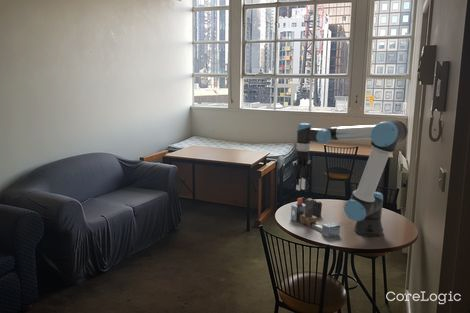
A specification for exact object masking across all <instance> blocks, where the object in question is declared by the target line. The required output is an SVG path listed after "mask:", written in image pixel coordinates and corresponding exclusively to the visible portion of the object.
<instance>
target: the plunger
mask: <svg viewBox="0 0 470 313" xmlns="http://www.w3.org/2000/svg"><path fill="white" fill-rule="evenodd" d="M296 200H297V203H296V204H297V206H302V198H301V197H298V198H297V199H296Z"/></svg>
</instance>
